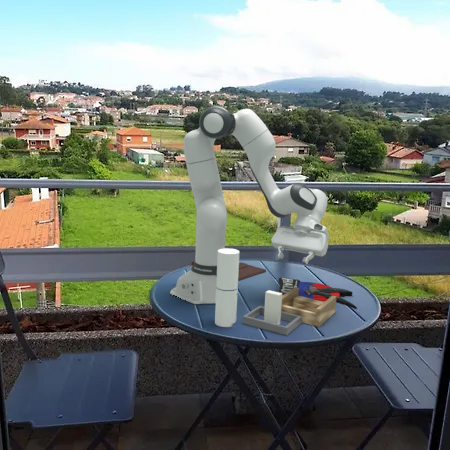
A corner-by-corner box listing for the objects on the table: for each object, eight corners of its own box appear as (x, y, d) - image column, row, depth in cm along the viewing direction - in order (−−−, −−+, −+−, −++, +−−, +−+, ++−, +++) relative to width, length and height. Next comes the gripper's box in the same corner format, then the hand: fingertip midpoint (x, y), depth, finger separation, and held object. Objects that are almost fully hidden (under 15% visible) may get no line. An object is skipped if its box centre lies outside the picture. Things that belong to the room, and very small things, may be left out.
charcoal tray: (242, 326, 161) (242, 316, 160) (258, 315, 171) (259, 305, 170) (286, 338, 153) (287, 328, 152) (301, 326, 163) (301, 316, 162)
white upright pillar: (263, 323, 162) (265, 292, 160) (266, 321, 164) (268, 290, 162) (277, 326, 159) (279, 295, 157) (280, 324, 161) (282, 293, 159)
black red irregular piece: (274, 305, 182) (356, 315, 178) (275, 296, 182) (357, 305, 177) (278, 283, 207) (349, 292, 203) (279, 275, 207) (350, 283, 202)
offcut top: (293, 302, 173) (293, 298, 173) (298, 299, 177) (298, 295, 176) (319, 309, 168) (319, 305, 168) (323, 306, 171) (324, 302, 171)
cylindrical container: (210, 322, 163) (213, 250, 158) (224, 316, 168) (227, 247, 163) (226, 329, 158) (229, 255, 153) (240, 323, 163) (243, 251, 158)
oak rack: (275, 318, 169) (276, 299, 167) (293, 304, 182) (295, 287, 181) (319, 329, 161) (320, 309, 159) (334, 314, 174) (336, 296, 173)
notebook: (266, 272, 223) (266, 268, 222) (238, 282, 208) (239, 277, 207) (240, 265, 232) (240, 261, 232) (213, 274, 217) (213, 270, 217)
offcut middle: (293, 306, 173) (293, 303, 173) (297, 303, 177) (297, 299, 176) (320, 312, 169) (320, 308, 168) (323, 309, 172) (323, 305, 172)
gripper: (276, 219, 178) (263, 250, 172) (330, 227, 168) (317, 260, 161) (281, 229, 182) (267, 259, 176) (333, 238, 172) (321, 270, 166)
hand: (292, 260), depth 169 cm, fingers open, 8 cm apart
